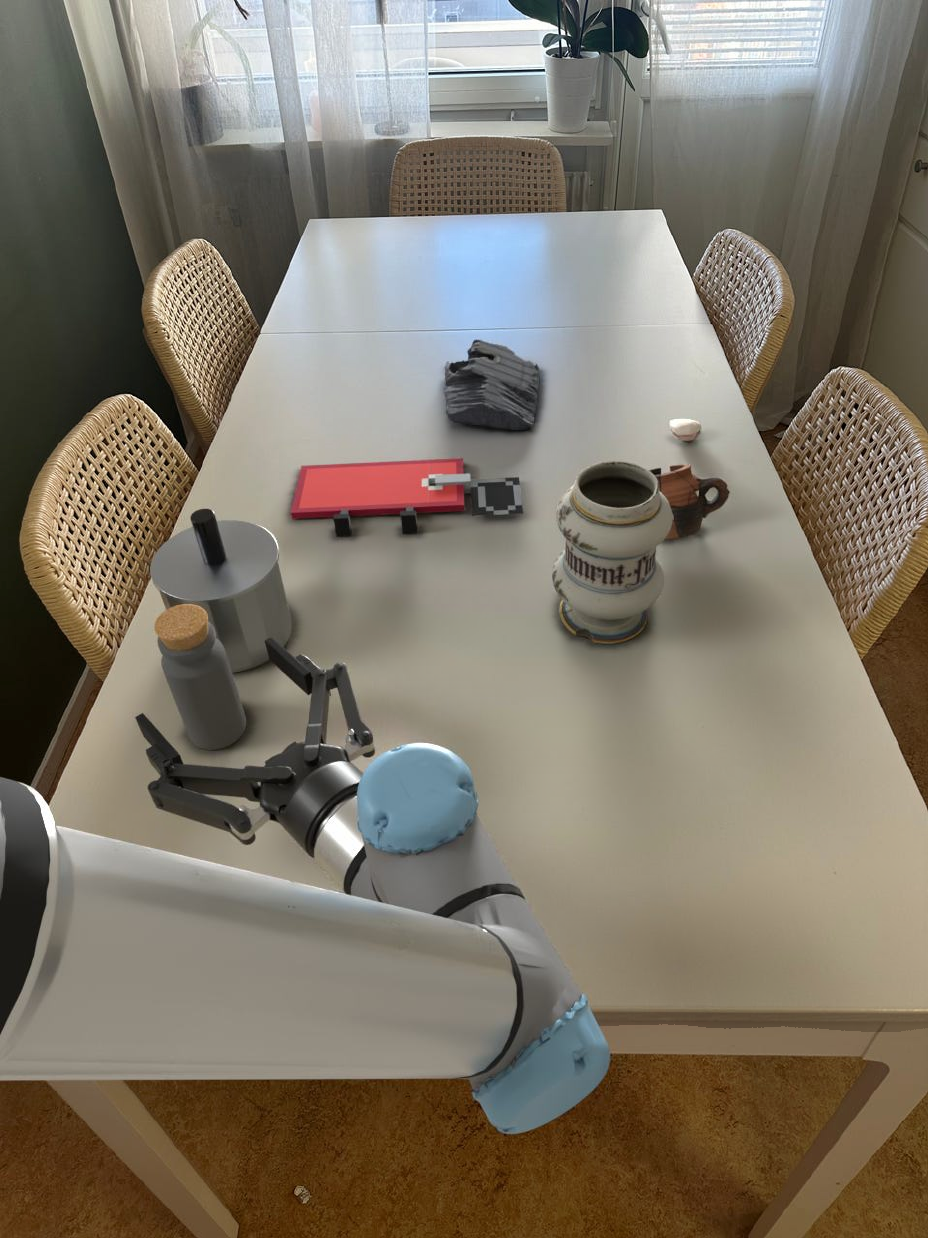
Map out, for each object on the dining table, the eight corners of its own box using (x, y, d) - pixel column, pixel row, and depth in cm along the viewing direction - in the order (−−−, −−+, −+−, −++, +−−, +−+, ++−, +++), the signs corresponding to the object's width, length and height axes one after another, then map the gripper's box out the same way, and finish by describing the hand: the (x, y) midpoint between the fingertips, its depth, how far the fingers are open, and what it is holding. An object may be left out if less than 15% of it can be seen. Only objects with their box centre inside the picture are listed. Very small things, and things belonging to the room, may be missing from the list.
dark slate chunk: (431, 433, 128) (430, 404, 124) (447, 362, 144) (446, 335, 140) (536, 435, 126) (536, 406, 123) (540, 364, 142) (541, 336, 139)
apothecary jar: (533, 632, 97) (538, 500, 84) (572, 568, 104) (582, 438, 92) (638, 665, 93) (659, 531, 80) (670, 596, 100) (694, 464, 88)
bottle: (250, 704, 90) (217, 597, 80) (243, 748, 86) (208, 641, 76) (193, 708, 90) (154, 601, 80) (184, 753, 86) (140, 646, 75)
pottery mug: (638, 547, 108) (626, 482, 106) (637, 533, 116) (625, 472, 114) (738, 528, 105) (727, 461, 103) (729, 514, 114) (719, 452, 112)
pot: (164, 669, 94) (136, 597, 87) (202, 593, 103) (180, 522, 96) (274, 677, 93) (255, 605, 86) (304, 599, 102) (289, 528, 94)
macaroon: (684, 447, 123) (687, 432, 121) (658, 433, 126) (661, 417, 124) (705, 437, 125) (708, 422, 123) (679, 423, 128) (682, 408, 126)
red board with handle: (524, 528, 110) (516, 464, 121) (524, 509, 108) (516, 446, 119) (288, 538, 110) (303, 474, 121) (284, 520, 108) (299, 456, 120)
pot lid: (132, 604, 87) (112, 553, 83) (179, 524, 97) (163, 474, 92) (259, 612, 86) (245, 561, 81) (294, 530, 95) (284, 480, 91)
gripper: (224, 951, 66) (97, 786, 77) (463, 765, 78) (322, 646, 89) (200, 902, 61) (68, 732, 72) (460, 710, 73) (311, 592, 84)
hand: (208, 684), depth 81 cm, fingers open, 13 cm apart
